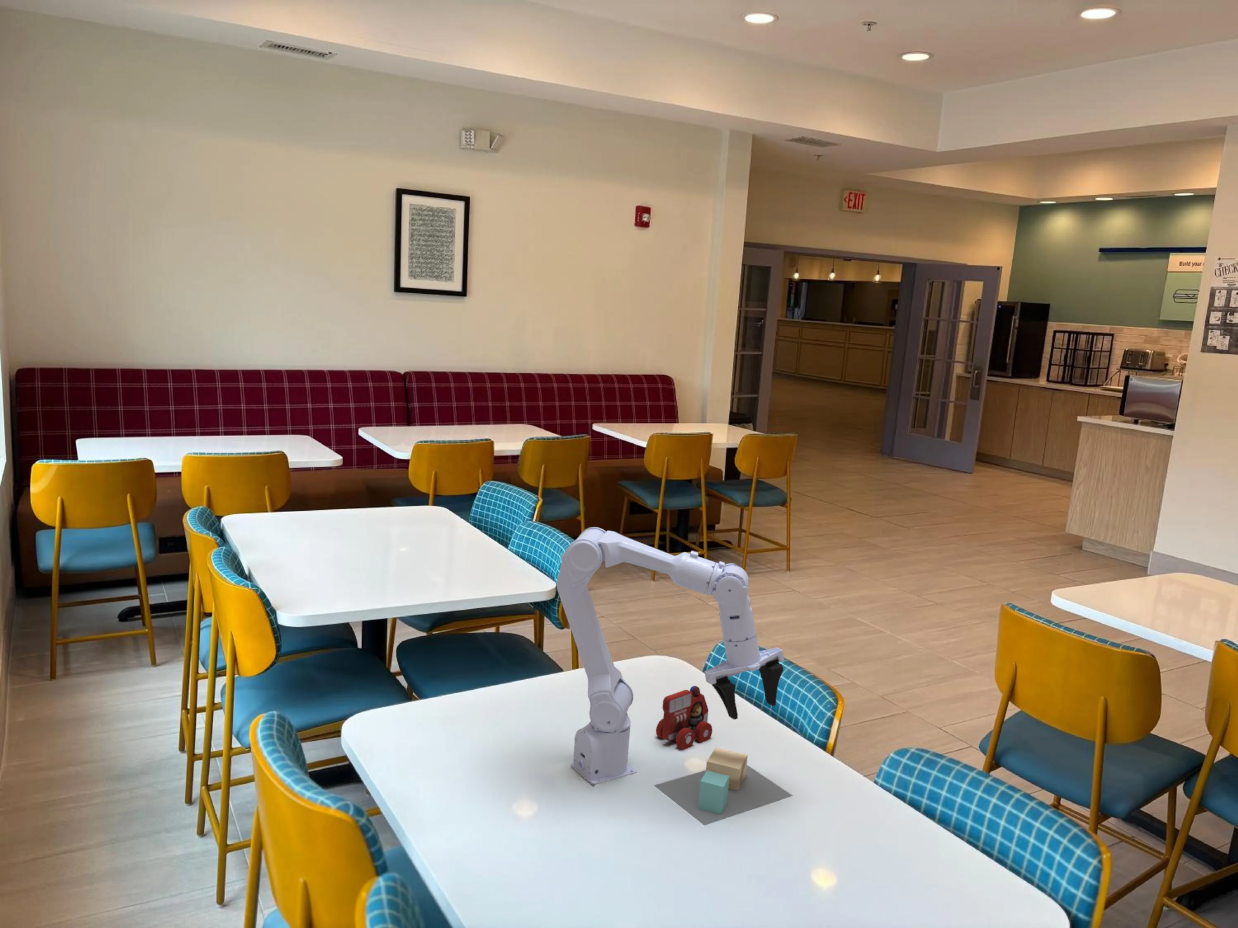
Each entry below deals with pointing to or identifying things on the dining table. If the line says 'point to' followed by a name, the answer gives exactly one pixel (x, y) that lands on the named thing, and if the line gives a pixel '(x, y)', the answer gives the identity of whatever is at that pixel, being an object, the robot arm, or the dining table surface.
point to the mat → (746, 798)
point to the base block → (728, 765)
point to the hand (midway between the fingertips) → (752, 710)
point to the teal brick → (713, 792)
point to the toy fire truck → (685, 718)
